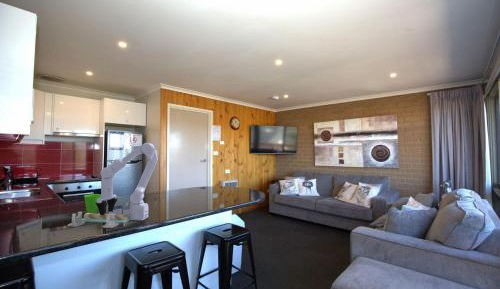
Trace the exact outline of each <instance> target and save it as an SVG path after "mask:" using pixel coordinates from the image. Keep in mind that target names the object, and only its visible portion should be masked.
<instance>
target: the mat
mask: <svg viewBox="0 0 500 289" xmlns="http://www.w3.org/2000/svg"><path fill="white" fill-rule="evenodd" d="M129 219H130V216H128V219H127V220H115V222H116V223H119V224H125V223H127V222H129V221H130V220H129ZM82 221H85V222H86V223H104V224H106V219H87V218H84V217H82Z"/></svg>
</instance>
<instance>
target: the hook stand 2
mask: <svg viewBox="0 0 500 289" xmlns="http://www.w3.org/2000/svg"><path fill="white" fill-rule="evenodd" d="M110 214H111V215H107V219H106V223H104V224H103V225H102V226H101V228H104V229H113V228H115V227H117V226H118V225H120V223H116V222H115V214H116V212H110Z"/></svg>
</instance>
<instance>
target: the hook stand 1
mask: <svg viewBox="0 0 500 289" xmlns="http://www.w3.org/2000/svg"><path fill="white" fill-rule="evenodd" d="M82 216H83V211H78V212H77V213H72V214H71V223H69V224H67V227H72V228H78V227H80V226H82V225H85V224H86V223H87V222H85V221H82V218H83V217H82Z"/></svg>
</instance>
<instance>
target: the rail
mask: <svg viewBox="0 0 500 289" xmlns="http://www.w3.org/2000/svg"><path fill="white" fill-rule="evenodd" d="M107 215H111V213H105V215H100V212H97V213H87V212H86V213H84V214H83V218H87V219H107ZM128 217H129V214H124V213H123V214H122V213H120V214H119V213H115V220H127V219H128Z"/></svg>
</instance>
